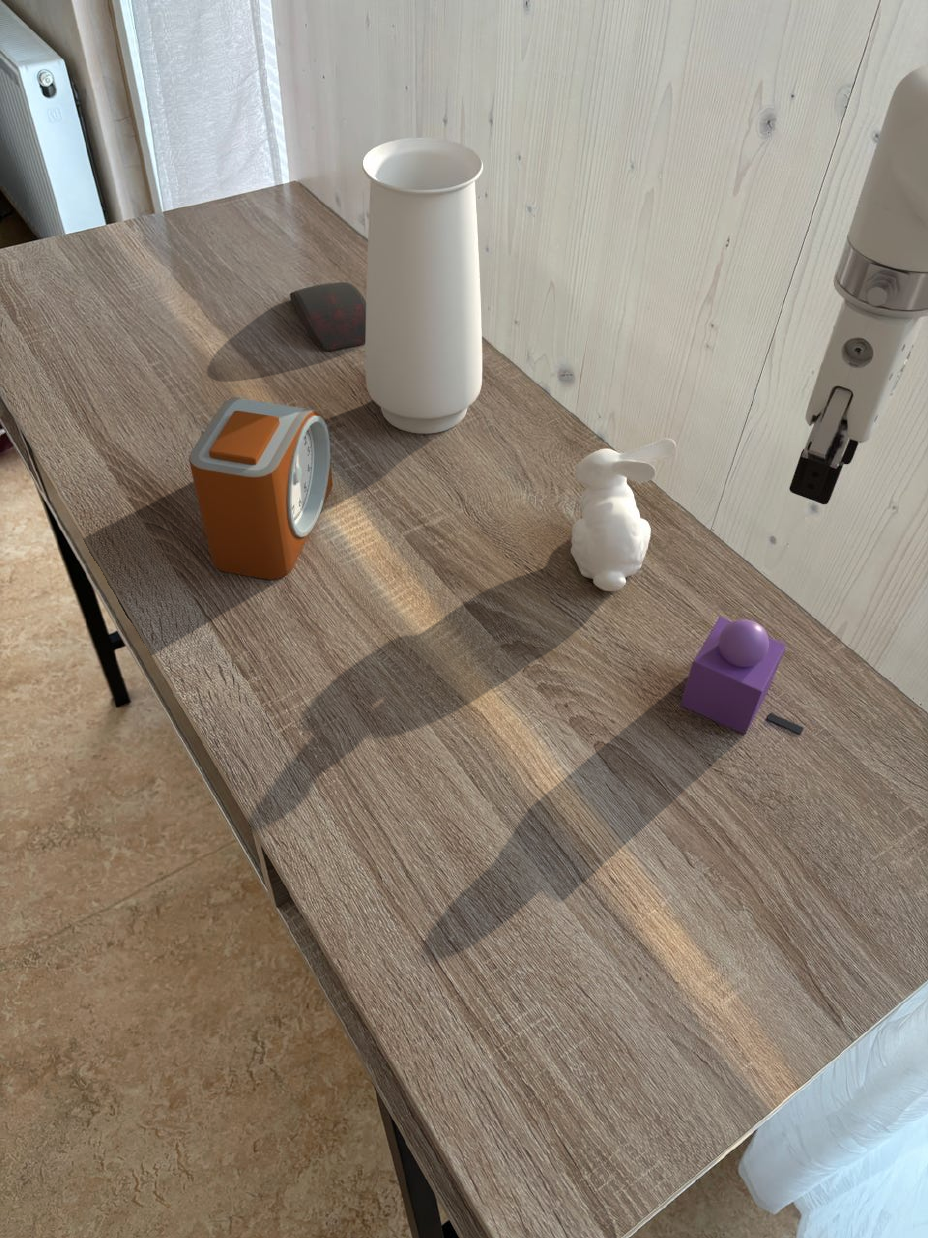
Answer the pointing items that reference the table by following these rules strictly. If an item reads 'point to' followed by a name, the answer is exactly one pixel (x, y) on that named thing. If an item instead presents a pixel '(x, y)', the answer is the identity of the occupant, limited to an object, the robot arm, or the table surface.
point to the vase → (423, 283)
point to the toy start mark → (785, 723)
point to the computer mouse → (332, 314)
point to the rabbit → (613, 513)
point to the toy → (733, 673)
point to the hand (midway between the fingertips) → (820, 474)
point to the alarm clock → (261, 484)
